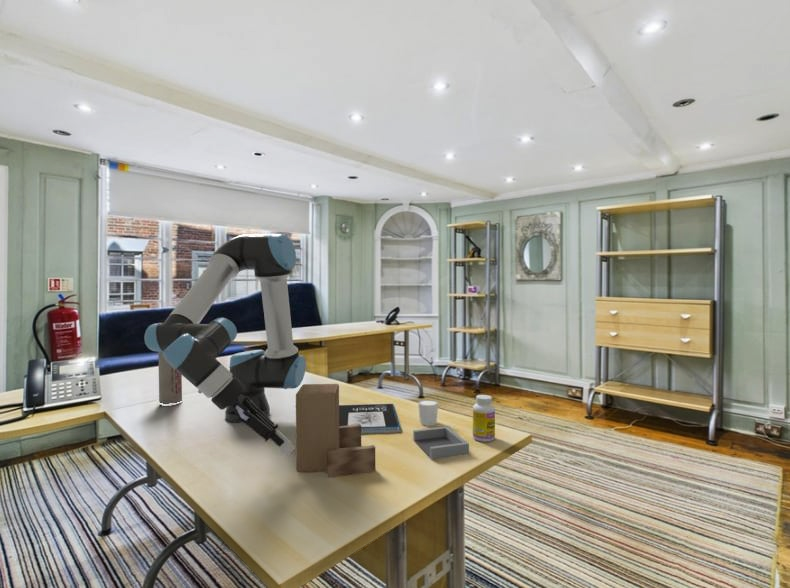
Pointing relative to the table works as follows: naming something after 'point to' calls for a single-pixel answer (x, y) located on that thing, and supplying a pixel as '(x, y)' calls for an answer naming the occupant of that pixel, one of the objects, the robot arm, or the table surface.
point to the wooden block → (316, 425)
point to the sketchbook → (370, 417)
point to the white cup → (428, 412)
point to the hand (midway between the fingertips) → (291, 450)
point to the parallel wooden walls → (350, 454)
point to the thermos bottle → (169, 382)
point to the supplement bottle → (483, 419)
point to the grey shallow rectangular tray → (440, 442)
